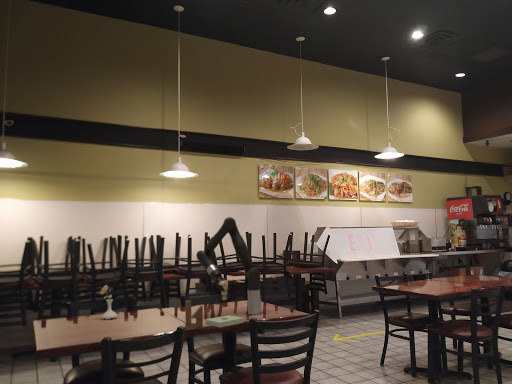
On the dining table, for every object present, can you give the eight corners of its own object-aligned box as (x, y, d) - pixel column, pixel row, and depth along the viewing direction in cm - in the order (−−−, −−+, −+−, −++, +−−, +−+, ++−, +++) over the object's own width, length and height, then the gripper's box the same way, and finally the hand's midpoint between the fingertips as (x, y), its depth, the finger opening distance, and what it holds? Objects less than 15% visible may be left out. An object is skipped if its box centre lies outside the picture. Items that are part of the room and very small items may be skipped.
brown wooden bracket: (203, 329, 266) (202, 299, 268) (186, 331, 262) (185, 301, 264) (201, 327, 270) (200, 299, 271) (184, 329, 265) (184, 300, 267)
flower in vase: (111, 316, 321) (111, 283, 323) (120, 318, 314) (120, 283, 317) (96, 319, 310) (96, 285, 313) (105, 321, 304) (105, 285, 306)
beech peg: (225, 298, 301) (224, 280, 303) (229, 299, 297) (229, 280, 299) (219, 299, 298) (219, 280, 299) (223, 300, 294) (223, 281, 296)
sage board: (229, 319, 294) (229, 315, 294) (244, 322, 282) (243, 317, 282) (205, 324, 281) (205, 319, 281) (219, 327, 269) (219, 322, 269)
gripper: (209, 269, 299) (221, 287, 290) (223, 267, 310) (235, 285, 301) (204, 276, 302) (216, 295, 293) (218, 275, 313) (230, 292, 304)
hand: (226, 290), depth 297 cm, fingers closed on beech peg, 5 cm apart
